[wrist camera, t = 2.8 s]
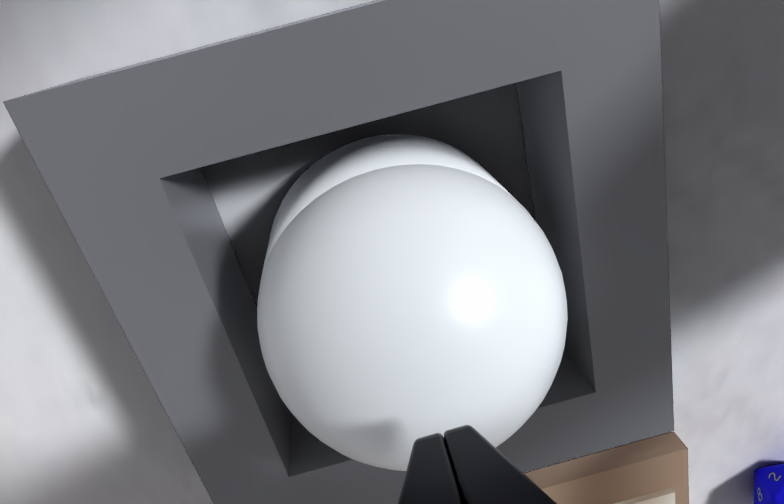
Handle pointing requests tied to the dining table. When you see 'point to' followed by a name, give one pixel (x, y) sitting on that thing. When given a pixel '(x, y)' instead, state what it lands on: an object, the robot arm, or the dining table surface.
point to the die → (769, 485)
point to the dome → (407, 300)
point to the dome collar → (343, 110)
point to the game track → (621, 475)
